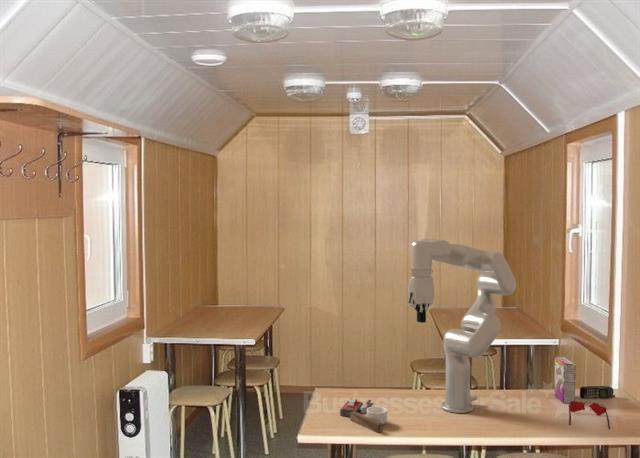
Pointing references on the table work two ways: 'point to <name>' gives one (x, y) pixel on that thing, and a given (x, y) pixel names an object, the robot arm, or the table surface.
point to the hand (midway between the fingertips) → (421, 321)
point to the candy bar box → (564, 380)
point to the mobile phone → (596, 392)
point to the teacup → (377, 414)
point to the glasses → (579, 406)
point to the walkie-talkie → (353, 407)
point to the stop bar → (366, 422)
